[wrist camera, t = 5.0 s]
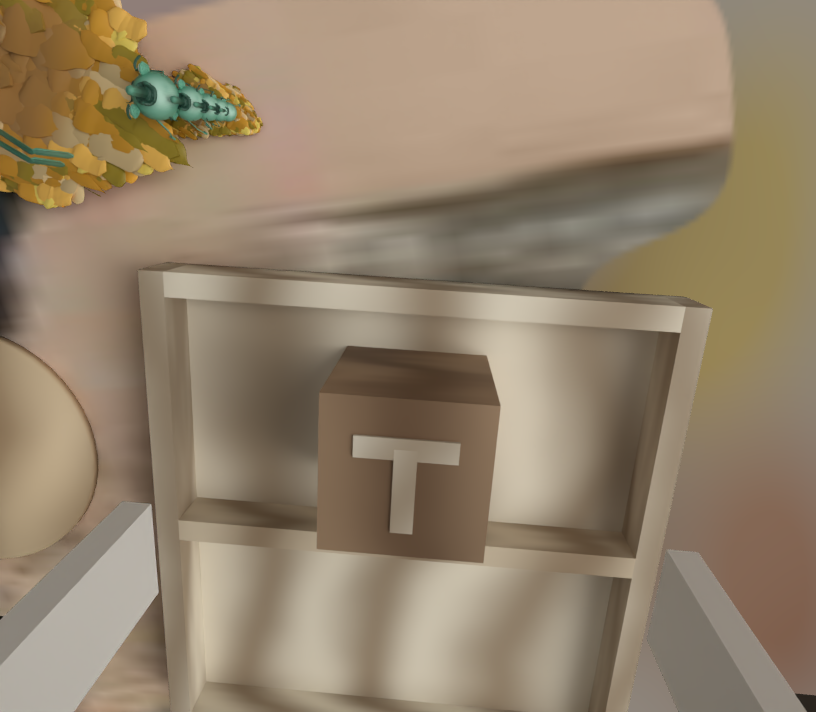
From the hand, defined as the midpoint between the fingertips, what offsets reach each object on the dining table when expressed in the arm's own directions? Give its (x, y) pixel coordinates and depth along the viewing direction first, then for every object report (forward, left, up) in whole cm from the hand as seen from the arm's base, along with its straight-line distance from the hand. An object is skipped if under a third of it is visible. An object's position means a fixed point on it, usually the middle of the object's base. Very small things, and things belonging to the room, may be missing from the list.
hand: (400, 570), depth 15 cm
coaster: (-21, -4, -12) cm, 24 cm away
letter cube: (0, 0, -11) cm, 11 cm away
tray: (0, -6, -12) cm, 13 cm away
